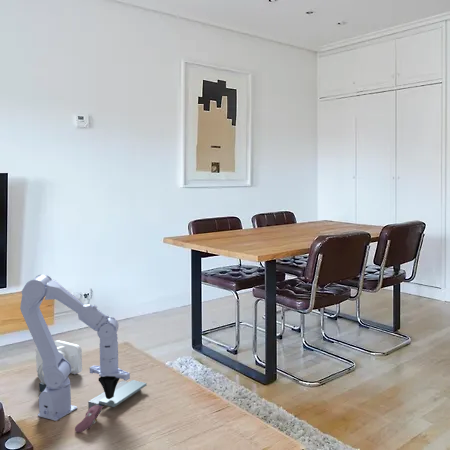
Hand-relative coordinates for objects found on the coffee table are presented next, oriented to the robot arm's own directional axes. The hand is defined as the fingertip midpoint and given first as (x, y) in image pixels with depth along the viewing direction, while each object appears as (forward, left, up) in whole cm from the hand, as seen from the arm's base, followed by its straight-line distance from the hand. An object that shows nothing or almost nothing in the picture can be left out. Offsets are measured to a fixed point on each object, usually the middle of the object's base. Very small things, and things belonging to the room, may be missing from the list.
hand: (110, 397), depth 158 cm
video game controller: (-11, -1, -4) cm, 12 cm away
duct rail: (+7, +3, -4) cm, 9 cm away
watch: (+2, +28, -4) cm, 28 cm away
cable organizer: (+14, +35, -4) cm, 38 cm away
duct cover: (+7, 0, -2) cm, 7 cm away
